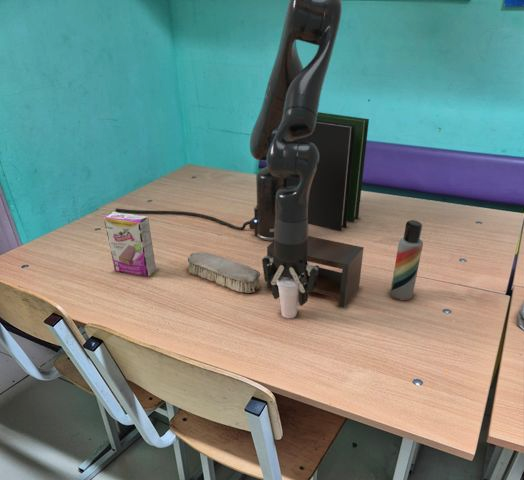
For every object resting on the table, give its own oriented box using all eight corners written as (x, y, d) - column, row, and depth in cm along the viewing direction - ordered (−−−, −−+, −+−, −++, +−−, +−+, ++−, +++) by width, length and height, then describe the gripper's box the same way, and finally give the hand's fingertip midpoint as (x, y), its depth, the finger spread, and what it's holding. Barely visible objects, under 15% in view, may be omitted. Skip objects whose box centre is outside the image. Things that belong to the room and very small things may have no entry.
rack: (267, 287, 133) (266, 246, 126) (285, 270, 141) (286, 231, 133) (343, 307, 124) (348, 264, 117) (358, 288, 132) (363, 247, 125)
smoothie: (300, 322, 119) (302, 270, 111) (274, 319, 120) (274, 268, 112) (303, 308, 124) (306, 258, 116) (278, 306, 125) (279, 255, 117)
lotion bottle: (387, 290, 131) (399, 217, 119) (408, 288, 132) (422, 216, 120) (394, 301, 127) (406, 227, 115) (415, 299, 127) (430, 226, 115)
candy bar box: (114, 272, 141) (102, 217, 131) (123, 264, 145) (112, 210, 135) (148, 278, 138) (139, 222, 128) (157, 270, 142) (148, 215, 132)
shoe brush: (181, 273, 140) (179, 257, 137) (199, 263, 145) (197, 247, 142) (249, 297, 129) (248, 280, 126) (265, 286, 134) (265, 269, 131)
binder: (359, 218, 171) (370, 118, 152) (338, 232, 162) (347, 128, 142) (293, 202, 184) (295, 109, 165) (270, 215, 174) (270, 117, 155)
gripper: (327, 235, 110) (322, 300, 120) (270, 224, 115) (270, 287, 125) (313, 248, 105) (310, 315, 115) (254, 236, 110) (256, 300, 120)
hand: (289, 300), depth 120 cm, fingers closed on smoothie, 6 cm apart
